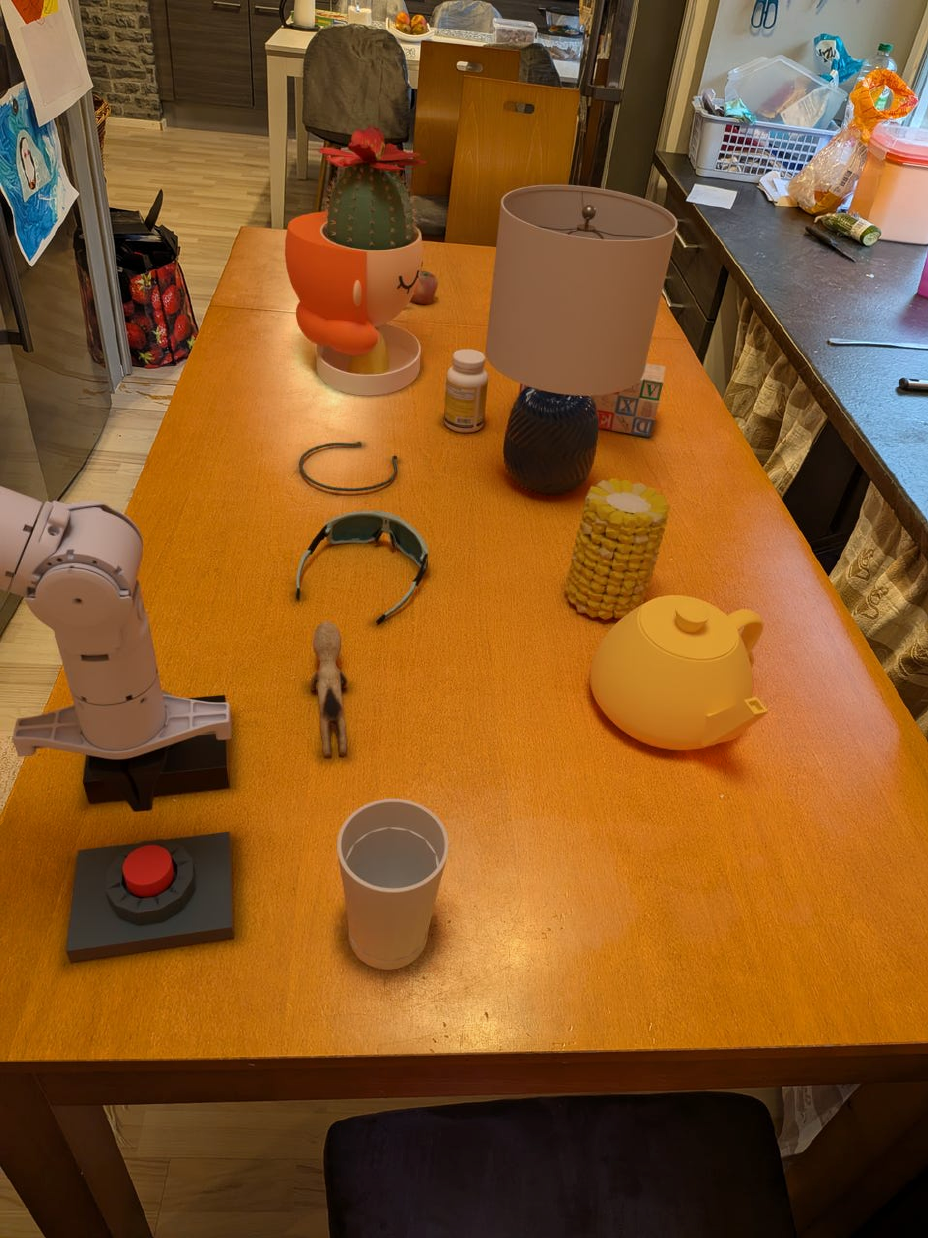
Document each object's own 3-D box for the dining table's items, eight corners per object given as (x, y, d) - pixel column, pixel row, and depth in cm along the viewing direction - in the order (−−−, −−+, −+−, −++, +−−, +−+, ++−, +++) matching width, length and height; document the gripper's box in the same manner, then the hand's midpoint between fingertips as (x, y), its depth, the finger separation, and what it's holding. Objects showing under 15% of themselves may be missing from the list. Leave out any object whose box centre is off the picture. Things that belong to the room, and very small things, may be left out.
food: (554, 619, 106) (585, 579, 113) (651, 638, 100) (677, 594, 108) (548, 501, 98) (582, 466, 105) (653, 514, 92) (681, 476, 100)
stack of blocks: (653, 420, 143) (671, 347, 135) (650, 439, 138) (668, 363, 130) (522, 396, 146) (532, 322, 138) (515, 413, 141) (525, 338, 133)
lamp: (470, 515, 118) (501, 223, 94) (473, 439, 134) (501, 172, 110) (622, 528, 119) (692, 242, 95) (608, 451, 134) (665, 188, 110)
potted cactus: (427, 345, 157) (440, 123, 135) (408, 403, 140) (419, 160, 118) (307, 330, 158) (299, 106, 135) (273, 386, 141) (258, 141, 118)
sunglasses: (442, 557, 110) (442, 526, 107) (394, 641, 101) (393, 611, 97) (338, 527, 113) (335, 496, 110) (281, 606, 104) (276, 576, 100)
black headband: (415, 467, 126) (416, 461, 125) (355, 507, 117) (355, 500, 116) (341, 435, 131) (341, 429, 130) (278, 470, 122) (278, 464, 121)
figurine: (353, 765, 87) (342, 639, 96) (354, 743, 83) (342, 614, 92) (315, 768, 86) (307, 641, 95) (314, 746, 83) (306, 616, 91)
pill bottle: (469, 411, 140) (475, 343, 133) (491, 429, 136) (499, 360, 129) (435, 419, 137) (440, 350, 130) (456, 437, 134) (463, 367, 126)
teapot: (557, 667, 97) (577, 574, 89) (700, 631, 104) (730, 541, 95) (659, 808, 84) (693, 714, 75) (815, 756, 90) (862, 664, 82)
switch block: (70, 963, 68) (60, 938, 65) (82, 862, 74) (73, 836, 72) (233, 938, 70) (229, 914, 68) (231, 843, 77) (227, 818, 75)
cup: (347, 990, 68) (347, 902, 60) (330, 899, 74) (328, 808, 66) (449, 968, 70) (461, 880, 62) (425, 880, 76) (433, 790, 68)
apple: (400, 306, 170) (401, 275, 166) (410, 292, 176) (412, 261, 172) (430, 312, 169) (432, 280, 165) (440, 297, 175) (442, 266, 171)
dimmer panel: (89, 804, 79) (82, 781, 77) (97, 728, 85) (91, 705, 83) (229, 788, 81) (226, 765, 79) (227, 716, 88) (224, 693, 86)
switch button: (124, 900, 68) (120, 888, 67) (127, 861, 71) (124, 848, 70) (173, 894, 69) (170, 881, 68) (174, 855, 72) (172, 842, 71)
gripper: (224, 629, 65) (239, 753, 74) (9, 642, 62) (51, 769, 71) (223, 699, 60) (239, 823, 69) (-12, 716, 57) (36, 843, 66)
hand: (143, 801), depth 70 cm, fingers closed
